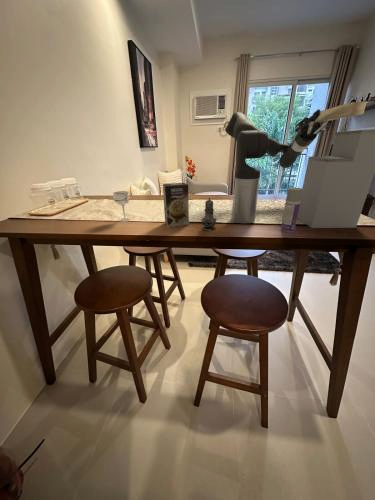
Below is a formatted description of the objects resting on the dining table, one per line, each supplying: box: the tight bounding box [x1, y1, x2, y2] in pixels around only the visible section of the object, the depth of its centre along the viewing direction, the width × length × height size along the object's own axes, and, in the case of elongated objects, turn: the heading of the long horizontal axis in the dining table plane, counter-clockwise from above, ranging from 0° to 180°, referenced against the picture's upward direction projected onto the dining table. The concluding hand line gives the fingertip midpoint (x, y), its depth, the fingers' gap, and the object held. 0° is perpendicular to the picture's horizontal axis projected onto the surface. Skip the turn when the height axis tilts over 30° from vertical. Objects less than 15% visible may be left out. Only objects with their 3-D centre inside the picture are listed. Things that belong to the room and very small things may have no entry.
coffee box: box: [162, 182, 190, 228], centre depth 85 cm, size 9×6×16 cm
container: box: [280, 187, 303, 233], centre depth 76 cm, size 5×5×15 cm
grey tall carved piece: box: [201, 197, 218, 232], centre depth 80 cm, size 6×6×12 cm
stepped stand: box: [297, 128, 375, 229], centre depth 79 cm, size 16×14×32 cm
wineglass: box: [112, 190, 131, 223], centre depth 93 cm, size 7×7×12 cm
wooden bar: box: [312, 101, 368, 122], centre depth 72 cm, size 4×24×3 cm, turn 176°
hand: (325, 111), depth 77 cm, fingers closed on wooden bar, 4 cm apart
